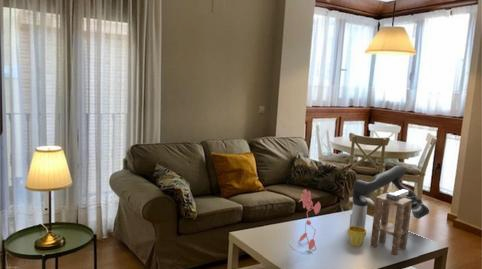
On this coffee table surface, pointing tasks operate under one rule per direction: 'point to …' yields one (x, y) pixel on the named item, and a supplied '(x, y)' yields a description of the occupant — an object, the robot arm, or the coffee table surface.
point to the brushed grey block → (397, 194)
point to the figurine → (307, 203)
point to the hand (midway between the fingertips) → (406, 196)
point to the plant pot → (356, 235)
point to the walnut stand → (393, 229)
